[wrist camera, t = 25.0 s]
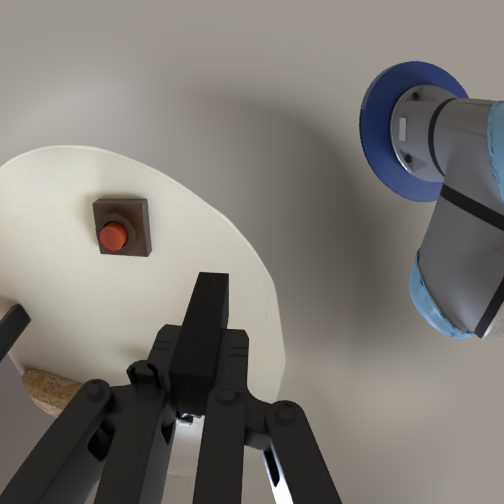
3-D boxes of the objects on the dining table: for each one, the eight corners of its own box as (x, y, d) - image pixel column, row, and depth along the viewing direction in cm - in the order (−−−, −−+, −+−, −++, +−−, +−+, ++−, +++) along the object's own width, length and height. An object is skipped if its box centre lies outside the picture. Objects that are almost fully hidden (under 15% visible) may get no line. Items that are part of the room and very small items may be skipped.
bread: (110, 391, 67) (99, 419, 59) (120, 411, 72) (111, 437, 64) (21, 363, 66) (8, 384, 58) (34, 383, 71) (23, 403, 63)
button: (125, 222, 41) (121, 226, 39) (128, 246, 42) (124, 251, 41) (103, 221, 40) (98, 226, 39) (106, 245, 42) (102, 250, 41)
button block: (147, 198, 43) (138, 207, 39) (152, 250, 47) (144, 262, 43) (98, 199, 42) (86, 207, 39) (105, 248, 47) (95, 259, 43)
